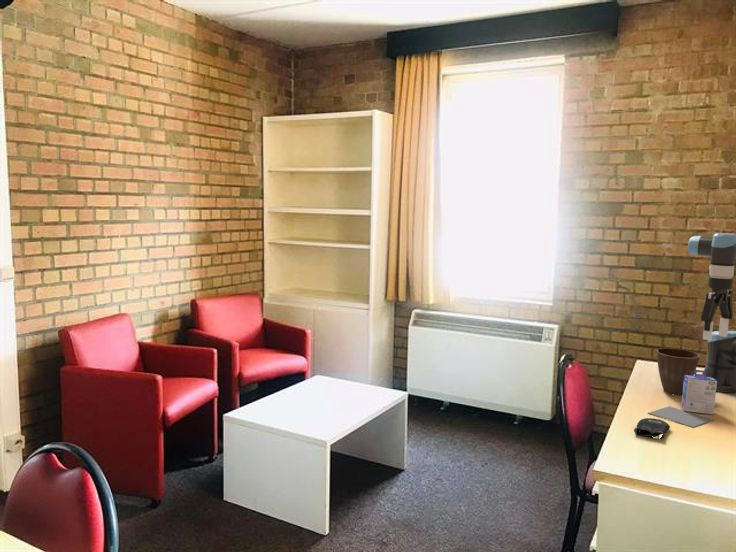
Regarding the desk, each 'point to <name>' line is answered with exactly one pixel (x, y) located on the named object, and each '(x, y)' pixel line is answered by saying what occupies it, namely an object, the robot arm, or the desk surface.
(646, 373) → the desk surface
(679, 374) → the plant pot
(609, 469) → the desk surface
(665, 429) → the electronic device
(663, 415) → the mat
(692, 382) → the ink cartridge box
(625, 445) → the desk surface
